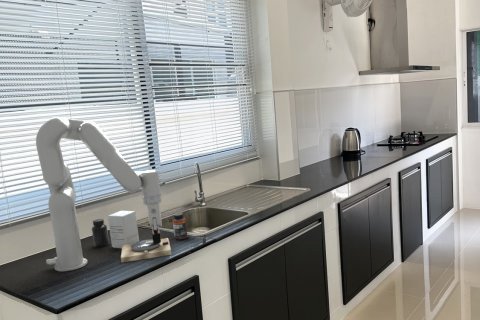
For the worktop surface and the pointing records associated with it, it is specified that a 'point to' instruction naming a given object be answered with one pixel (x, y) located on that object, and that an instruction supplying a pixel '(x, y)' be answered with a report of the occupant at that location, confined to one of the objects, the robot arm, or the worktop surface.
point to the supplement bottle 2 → (179, 226)
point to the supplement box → (123, 228)
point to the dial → (145, 245)
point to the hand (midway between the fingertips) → (157, 241)
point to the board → (145, 252)
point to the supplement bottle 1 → (100, 233)
